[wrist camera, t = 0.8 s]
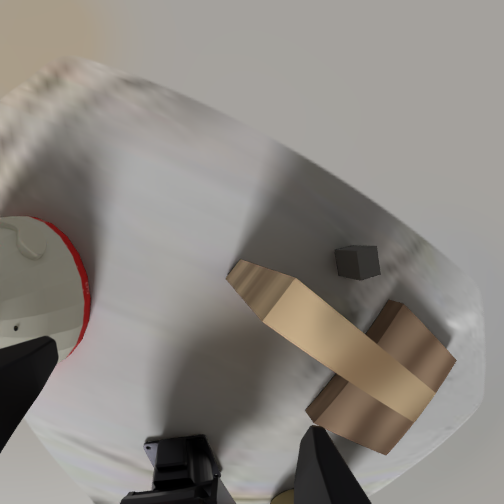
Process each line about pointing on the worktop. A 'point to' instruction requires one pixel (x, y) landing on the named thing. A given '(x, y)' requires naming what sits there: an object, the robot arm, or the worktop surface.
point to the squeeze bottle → (284, 498)
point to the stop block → (358, 262)
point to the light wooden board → (329, 337)
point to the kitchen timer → (41, 285)
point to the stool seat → (367, 407)
